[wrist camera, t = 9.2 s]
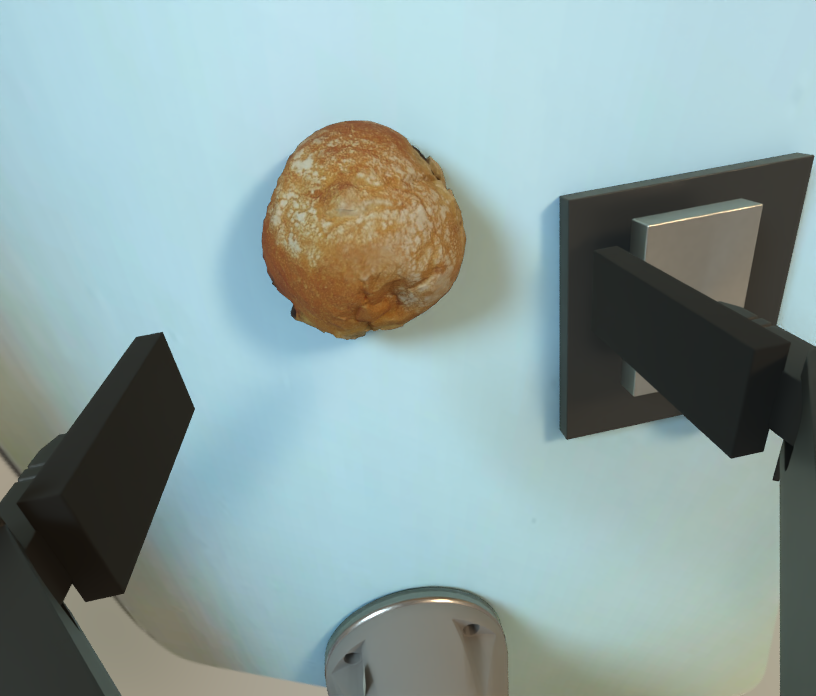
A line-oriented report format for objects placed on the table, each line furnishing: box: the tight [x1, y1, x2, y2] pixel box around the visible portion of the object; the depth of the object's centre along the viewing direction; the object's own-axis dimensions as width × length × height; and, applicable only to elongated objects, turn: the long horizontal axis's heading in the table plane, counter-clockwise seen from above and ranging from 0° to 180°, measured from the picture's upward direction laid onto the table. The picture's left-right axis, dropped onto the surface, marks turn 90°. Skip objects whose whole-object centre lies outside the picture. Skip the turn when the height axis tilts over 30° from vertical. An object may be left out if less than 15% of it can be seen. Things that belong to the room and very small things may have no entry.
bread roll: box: [262, 121, 466, 340], centre depth 25 cm, size 10×10×8 cm
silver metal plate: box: [621, 198, 763, 396], centre depth 28 cm, size 10×6×2 cm, turn 8°
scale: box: [560, 153, 814, 440], centre depth 31 cm, size 17×15×3 cm
